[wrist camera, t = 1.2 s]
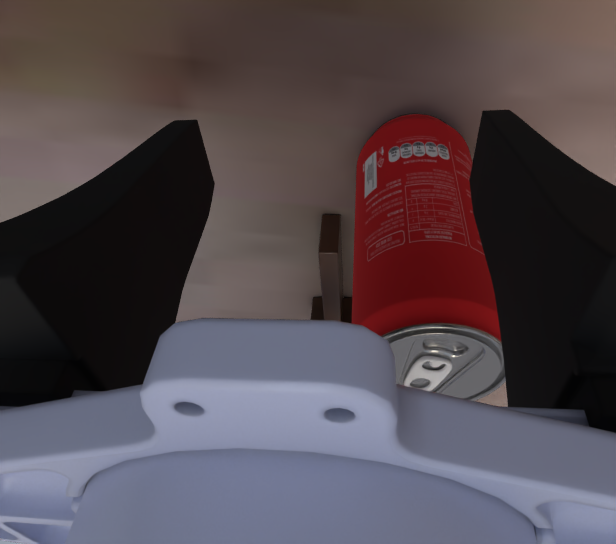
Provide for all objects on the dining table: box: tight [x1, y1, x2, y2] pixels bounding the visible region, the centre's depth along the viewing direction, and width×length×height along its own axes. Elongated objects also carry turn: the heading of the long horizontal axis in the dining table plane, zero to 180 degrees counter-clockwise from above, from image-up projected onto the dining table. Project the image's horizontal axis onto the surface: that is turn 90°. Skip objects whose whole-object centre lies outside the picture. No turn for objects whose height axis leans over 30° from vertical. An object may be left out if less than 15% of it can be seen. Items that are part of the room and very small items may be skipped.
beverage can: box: [352, 113, 506, 401], centre depth 19 cm, size 5×5×12 cm
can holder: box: [311, 215, 352, 323], centre depth 28 cm, size 8×11×4 cm
